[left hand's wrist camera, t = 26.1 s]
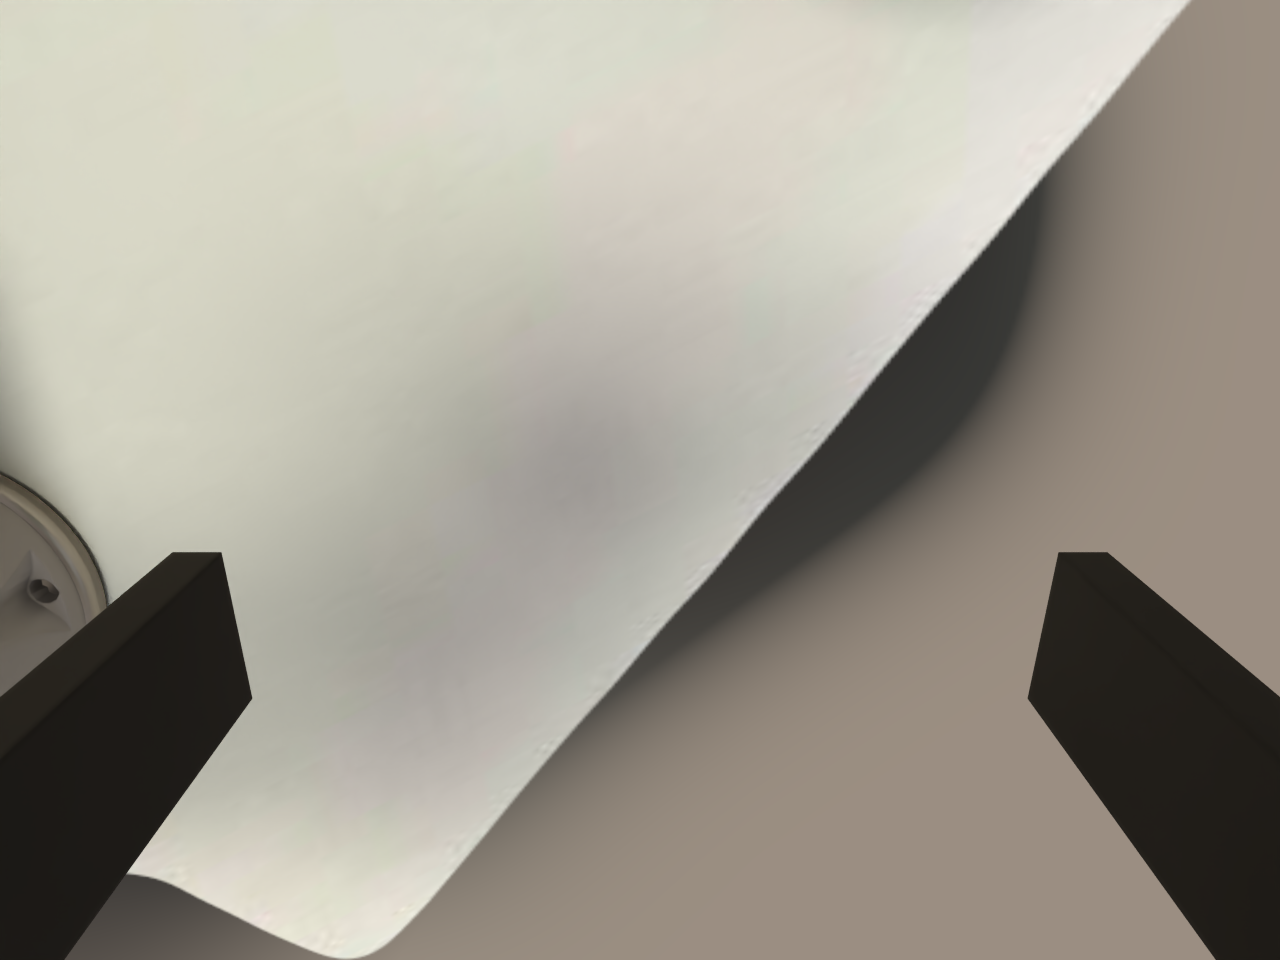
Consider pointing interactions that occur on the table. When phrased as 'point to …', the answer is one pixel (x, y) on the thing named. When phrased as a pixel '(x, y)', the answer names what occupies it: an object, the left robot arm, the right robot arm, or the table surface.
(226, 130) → the table surface
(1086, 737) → the left robot arm
